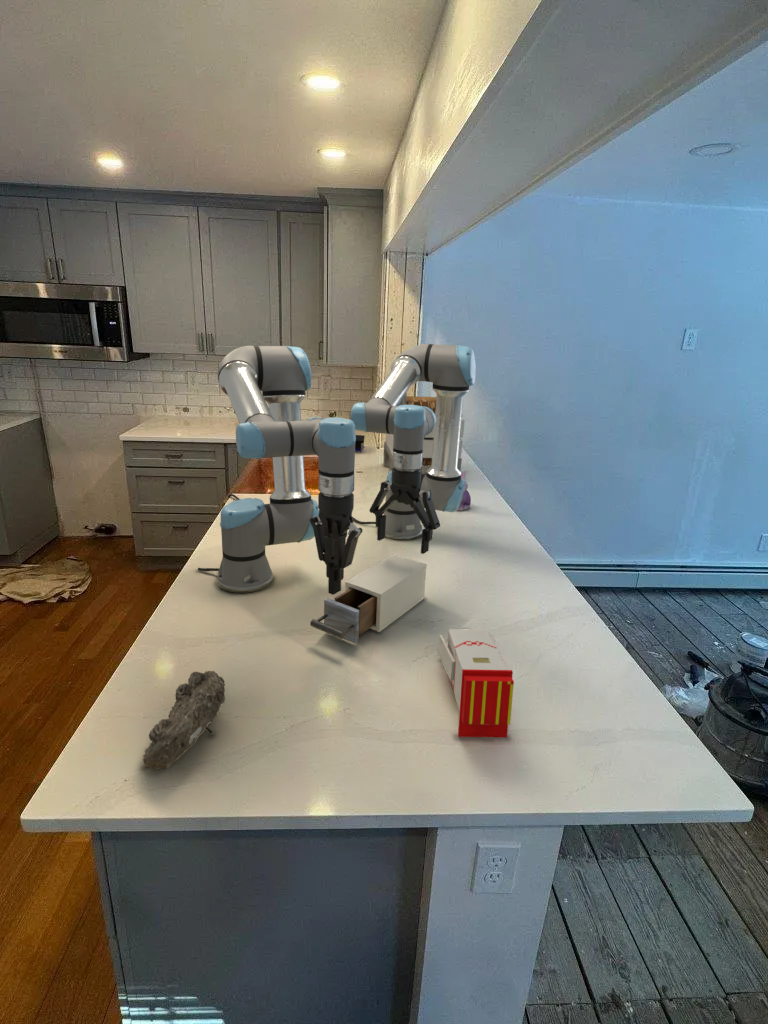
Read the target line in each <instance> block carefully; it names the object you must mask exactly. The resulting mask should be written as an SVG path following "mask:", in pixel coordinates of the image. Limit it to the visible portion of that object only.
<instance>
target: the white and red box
mask: <svg viewBox="0 0 768 1024" xmlns="http://www.w3.org/2000/svg"><path fill="white" fill-rule="evenodd" d="M446 640H447V643H446V641H445V639H444V636H443V635H442V634H439V637H438V646H437V656H438V657H439V659H440V661H441V663H442V666H443V668H444V670H445V672H446V674H447V677H448V679H449V681H450V684H451V687H452V690H453V693H454V697H455V701H456V705H457V708H458V711H459V714H458V715H459V716H458V730H457V731H458V732H457V737H458V738H508V731H509V726H510V725H511V717H512V707H513V697H514V696H513V695H514V684H515V680H514V679H513V673H514V671H513V670H512V669H508V667H507V665H506V662H505V661H504V659H503V658H502V655H501V653H500V651H499V649H498V647H497V643H496V639H495V637H494V635H493V634H491V632H490V631H489V629H467V628H466V629H465V628H463V629H461V628H460V629H459V628H448V630H447V639H446Z"/></svg>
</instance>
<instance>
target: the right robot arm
mask: <svg viewBox="0 0 768 1024" xmlns="http://www.w3.org/2000/svg"><path fill="white" fill-rule="evenodd" d="M390 365H391V366H390V371H389V373H388V374H387V375H386V377H385V378H384V380H383V381H382V382H381V384H380V385H379V387H378V388H377V389H376V391H374V392H373V394H372V396H371V397H370V398H369V400H368V401H367V402H364V401H363V402H355V403H354V404H353V406H352V408H351V411H350V420H352V421H353V422H354V424H355V431H360V432H365V433H374V434H383V435H386V434H392V435H394V439H393V460H392V465H393V468H392V470H391V471H390V470H389V472H388V473H387V475H386V480H385V481H382V482H380V486H379V487H380V488H379V491H378V493H377V495H376V496H375V498H374V500H373V502H372V504H371V506H370V508H369V510H368V511H369V512H370V514H374V516H375V521H361V520H358V519H356V518H355V517H354V516H352V518H353V522H355V523H357V524H361V525H375V528H377V531H376V532H377V533H376V535H377V536H376V540H377V541H379V542H380V541H382V540H384V539H385V538H387V539H389V540H395V541H410V540H415V539H418V538H420V537H421V542H420V543H421V544H420V554H421V555H424V554H426V553H427V552H429V550H430V549H429V548H430V542H431V541H433V534H434V533H433V532H434V531H435V530H437V529H439V528H441V522H440V519H439V516H438V513H437V511H439V512H443V513H444V512H447V513H455V512H457V511H458V510H457V509H458V507H459V505H460V502H461V499H462V496H463V492H464V488H465V480H466V479H465V480H464V479H463V478H462V479H461V475H462V471H461V472H460V471H459V470H458V468H457V463H458V452H459V441H460V439H461V438H460V430H461V419H463V408H464V407H463V406H464V398H465V397H464V396H465V395H466V394H467V393H468V392H469V391H470V387H471V386H474V385H475V383H476V375H477V374H476V372H477V371H476V370H477V367H476V365H477V364H476V356H475V353H474V350H473V348H472V347H470V346H464V345H459V344H457V345H455V344H436V343H435V344H434V343H433V344H432V343H421V344H420V343H419V344H416V345H415V346H412V347H410V348H407V349H406V350H404V351H403V352H401V353H400V354H399V355H398V356H396V357H395V359H394V360H393V361H392V363H391V364H390ZM418 382H427V383H432V386H431V387H432V390H433V391H434V393H435V394H436V396H435V397H436V411H435V414H434V412H433V411H432V410H431V409H430V408H428V407H425V406H418V405H400V406H398V405H399V403H400V402H401V400H402V399H403V397H404V396H405V394H406V393H408V392H409V390H410V388H411V387H412V386H413V385H415V384H417V383H418ZM433 428H434V438H433V451H432V465H430V466H429V468H427V469H426V473H422V469H421V468H422V467H423V466H422V458H423V442H424V437H425V436H426V435H428V434H430V432H432V430H433ZM232 497H233V498H235V500H240V499H241V498H239V497H238V496H237V495H236V494H233V493H229V494H228V495H227V498H232ZM384 500H385V502H384ZM383 502H384V503H383ZM382 503H383V504H382ZM381 505H382V506H381ZM318 510H319V509H318ZM319 512H320V510H319Z"/></svg>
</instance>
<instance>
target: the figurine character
mask: <svg viewBox="0 0 768 1024" xmlns="http://www.w3.org/2000/svg"><path fill="white" fill-rule="evenodd" d="M355 435H356V442H355V454H356V453H357V452H359V453H360V454H361V453H362V450H364V449H365V435H361V434H355Z"/></svg>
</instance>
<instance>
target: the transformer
mask: <svg viewBox="0 0 768 1024" xmlns="http://www.w3.org/2000/svg"><path fill="white" fill-rule="evenodd" d="M407 394H408V392H406V394H405V396H404V397H403V399H402V400H401V402H400V403H399V405H398V406H400V405H418V406H425V407H428V408H430V409H431V410H432V411H433V412H434V414H435V411H436V397H437V396H415V395H414V396H413V395H412V396H411V395H407ZM464 429H465V419H464V418H462V419H461V430H460V441H459V452H458V463H457V468H458V470H459V471H460V472H461V473H462V461H463V460H462V453H463V442H464V441H463V440H462V439H463V438H464V431H465V430H464ZM433 438H434V428H433V430H432V432H430V434H428V435H426V436H425V437H424V442H423V458H422V467H431V465H432V451H433ZM393 439H394V435H392V434H385V438H384V442H383V466H384V467H388V468H389V472H390V471H391V470H392V468H393V465H392V460H393Z"/></svg>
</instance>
